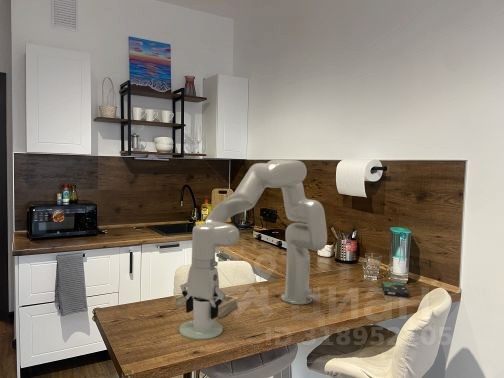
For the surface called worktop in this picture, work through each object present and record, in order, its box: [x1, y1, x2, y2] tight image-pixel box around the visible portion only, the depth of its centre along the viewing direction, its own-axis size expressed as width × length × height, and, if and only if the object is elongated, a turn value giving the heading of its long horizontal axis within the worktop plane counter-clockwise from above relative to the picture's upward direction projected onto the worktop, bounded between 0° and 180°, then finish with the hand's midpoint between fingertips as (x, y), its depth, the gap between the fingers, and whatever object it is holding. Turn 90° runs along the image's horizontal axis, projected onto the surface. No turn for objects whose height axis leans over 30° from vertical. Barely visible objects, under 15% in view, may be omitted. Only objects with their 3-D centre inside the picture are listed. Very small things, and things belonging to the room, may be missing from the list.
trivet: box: [179, 319, 224, 341], centre depth 132 cm, size 14×14×1 cm
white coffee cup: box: [192, 297, 214, 332], centre depth 131 cm, size 7×7×10 cm
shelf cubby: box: [174, 293, 239, 320], centre depth 152 cm, size 19×13×4 cm
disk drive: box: [381, 281, 410, 299], centre depth 181 cm, size 10×3×15 cm
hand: (201, 314), depth 131 cm, fingers open, 9 cm apart
